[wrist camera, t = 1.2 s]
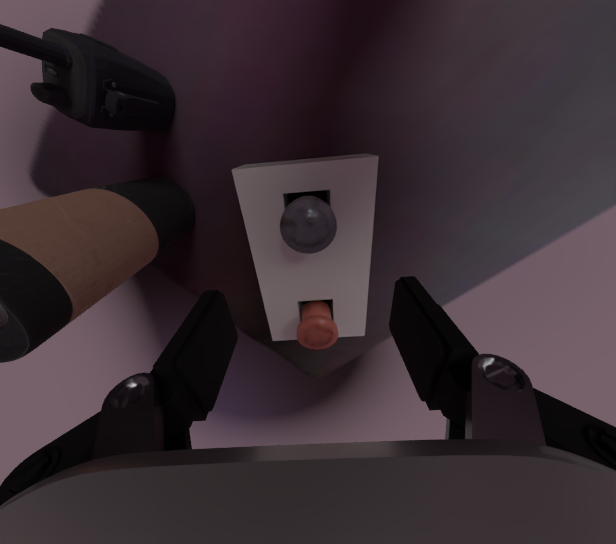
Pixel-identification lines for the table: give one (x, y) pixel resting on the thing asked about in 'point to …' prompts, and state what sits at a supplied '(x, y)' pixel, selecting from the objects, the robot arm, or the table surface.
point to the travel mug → (79, 253)
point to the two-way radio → (94, 81)
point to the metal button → (308, 224)
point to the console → (317, 266)
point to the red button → (317, 326)
